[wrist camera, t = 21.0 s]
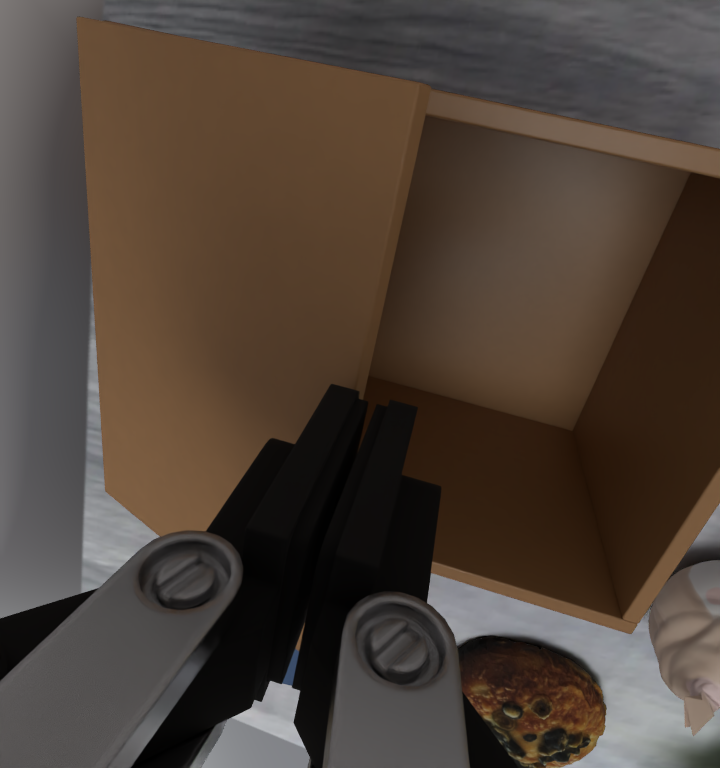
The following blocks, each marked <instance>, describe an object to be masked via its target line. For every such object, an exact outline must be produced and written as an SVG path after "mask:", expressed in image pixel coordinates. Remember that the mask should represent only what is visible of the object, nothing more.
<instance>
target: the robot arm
mask: <svg viewBox="0 0 720 768" xmlns="http://www.w3.org/2000/svg"><path fill="white" fill-rule="evenodd" d="M359 394H360V392H359V391H357V390H354V389H350V388H346V387H343V386H339V385H335V384H331V385H330V386H329V388H328V389H327V391H326V393H325V394H324V396H323V398H322V399H321V401H320V403H319V405H318V406H317V408H316V410H315V411H314V413H313V415H312V416H311V418H310V420H309V421H308V423H307V425H306V426H305V428H304V430H303V432H302V433H301V435H300V437H299V438H298V440H297V442H296V443H295V444H293V443H289V442H286V441H282V440H279V439H275V438H271V439H269V440H268V441H267V443H266V444H265V445H264V447H263V448H262V450H261V451H260V452H259V454H258V455H257V457H256V458H255V460H254V461H253V463H252V464H251V466H250V467H249V469H248V470H247V472H246V473H245V474H244V476H243V477H242V479H241V480H240V482H239V483H238V485H237V486H236V488H235V489H234V491H233V492H232V493H231V495H230V496H229V498H228V499H227V501H226V502H225V504H224V505H223V507H222V508H221V510H220V511H219V512H218V514H217V515H216V517H215V518H214V520H213V521H212V523H211V524H210V526H209V527H208V529H207V530H206V531H193V530H185V531H179V532H173V533H169V534H166V535H164V536H161V537H159V538H156V539H154V540H153V541H151V542H150V543H148V544H147V545H146V546H144V547H143V548H141V549H140V550H139V551H138V552H137V553H136V554H135V555H134V556H133V557H132V558H130V559H129V560H128V561H127V562H126V563H125V564H124V565H123V566H122V567H121V568H120V569H119V570H118V571H117V572H116V573H114V574H113V575H112V576H111V577H110V578H109V579H108V580H107V581H106V582H105V583H104V584H103V585H102V586H101V587H100V588H98V589H94V590H91V591H88V592H85V593H81V594H78V595H75V596H72V597H69V598H65V599H62V600H59V601H56V602H52V603H49V604H46V605H43V606H40V607H36V608H33V609H29V610H26V611H23V612H20V613H17V614H13V615H10V616H7V617H4V618H1V619H0V768H201V767H202V765H203V764H204V762H205V760H206V759H207V757H208V755H209V753H210V752H211V750H212V749H213V747H214V746H215V744H216V742H217V741H218V739H219V737H220V735H221V733H222V731H223V729H224V726H225V724H226V722H227V719H229V718H231V717H233V716H235V715H238V714H240V713H242V712H244V711H246V710H248V709H250V708H251V707H252V704H253V702H254V700H257V701H260V702H262V700H263V697H264V695H265V692H266V690H267V687H268V684H269V682H270V681H273V682H276V683H279V684H282V682H283V680H284V678H285V675H286V673H287V670H288V667H289V664H290V662H291V659H292V656H293V653H294V651H295V648H296V645H297V642H298V640H299V637H300V634H301V631H302V629H303V626H304V630H303V635H302V639H301V644H300V649H299V654H298V659H297V664H296V669H295V674H294V679H293V684H292V688H294V689H297V690H300V695H299V700H298V705H297V709H296V714H295V718H294V724H295V727H296V729H297V731H298V733H299V735H300V737H301V739H302V741H303V744H304V746H305V748H306V750H307V752H308V754H309V756H310V759H309V763H308V768H519V767H518V766H517V765H516V763H515V762H514V761H513V759H512V758H511V757H510V755H509V754H508V753H507V751H506V750H505V748H504V747H503V746H502V744H501V743H500V742H499V740H498V739H497V738H496V736H495V735H494V734H493V732H492V731H491V729H490V728H489V727H488V725H487V724H486V723H485V721H484V720H483V719H482V717H481V716H480V715H479V713H478V712H477V710H476V709H475V708H474V706H473V705H472V704H471V702H470V701H469V700H468V698H467V697H466V696H465V694H464V693H463V691H462V685H461V675H460V665H459V656H458V649H457V645H456V641H455V637H454V634H453V632H452V631H451V629H450V627H449V625H448V624H447V622H446V620H445V619H444V618H443V617H442V616H441V615H440V614H439V613H438V612H437V611H436V610H435V609H434V608H433V607H432V606H431V605H429V604H427V598H428V590H429V583H430V575H431V567H432V560H433V552H434V544H435V537H436V529H437V521H438V514H439V506H440V498H441V486H439V485H436V484H432V483H429V482H425V481H422V480H418V479H415V478H411V477H408V476H404V475H402V471H403V467H404V463H405V458H406V454H407V450H408V446H409V442H410V438H411V434H412V430H413V426H414V422H415V418H416V414H417V410H418V407H416V406H413V405H409V404H405V403H401V402H398V401H394V400H390V401H389V404H388V406H383V405H380V404H377V405H376V407H375V410H374V412H373V415H372V417H371V420H370V423H369V425H368V428H367V430H366V433H365V435H364V438H363V440H362V443H361V445H360V448H359V444H360V439H361V435H362V430H363V426H364V421H365V417H366V412H367V408H368V401H365V400H361V399H359ZM358 448H359V451H358ZM304 623H305V625H304Z"/></svg>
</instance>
